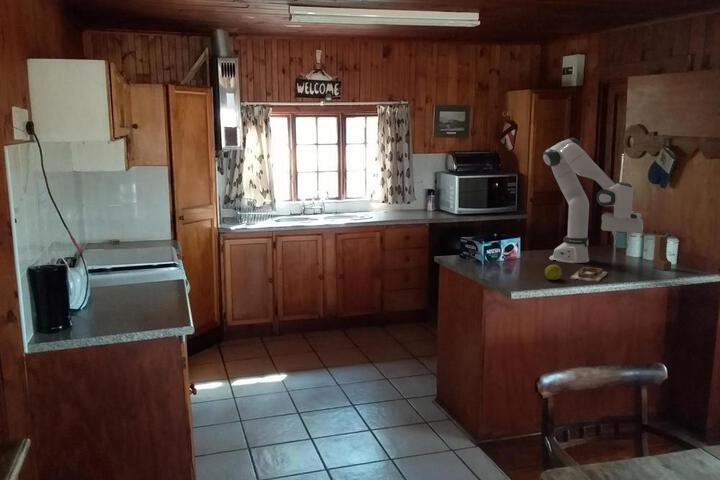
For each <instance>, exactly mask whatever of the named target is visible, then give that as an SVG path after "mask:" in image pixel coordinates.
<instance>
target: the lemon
mask: <svg viewBox="0 0 720 480" xmlns="http://www.w3.org/2000/svg"><path fill="white" fill-rule="evenodd" d="M562 272H563V271H562V268H561V267H560V266H559V265H558V264H550V265H548V266H547V267H545V269H544V275H545V278H546V279H548V280H550V281H556V280H558V279H560V278H561V276H562V274H563V273H562Z"/></svg>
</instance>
